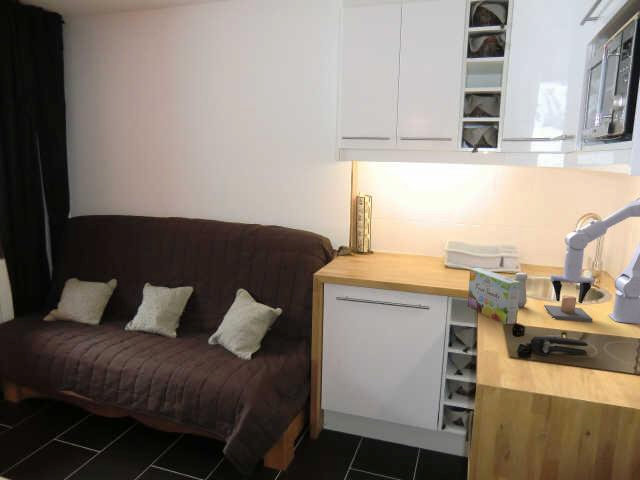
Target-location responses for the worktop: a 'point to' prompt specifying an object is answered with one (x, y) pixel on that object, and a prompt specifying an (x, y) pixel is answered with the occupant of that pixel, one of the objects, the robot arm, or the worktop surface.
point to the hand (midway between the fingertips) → (568, 301)
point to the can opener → (544, 346)
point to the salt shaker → (522, 288)
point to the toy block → (568, 304)
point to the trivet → (577, 316)
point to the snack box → (494, 295)
